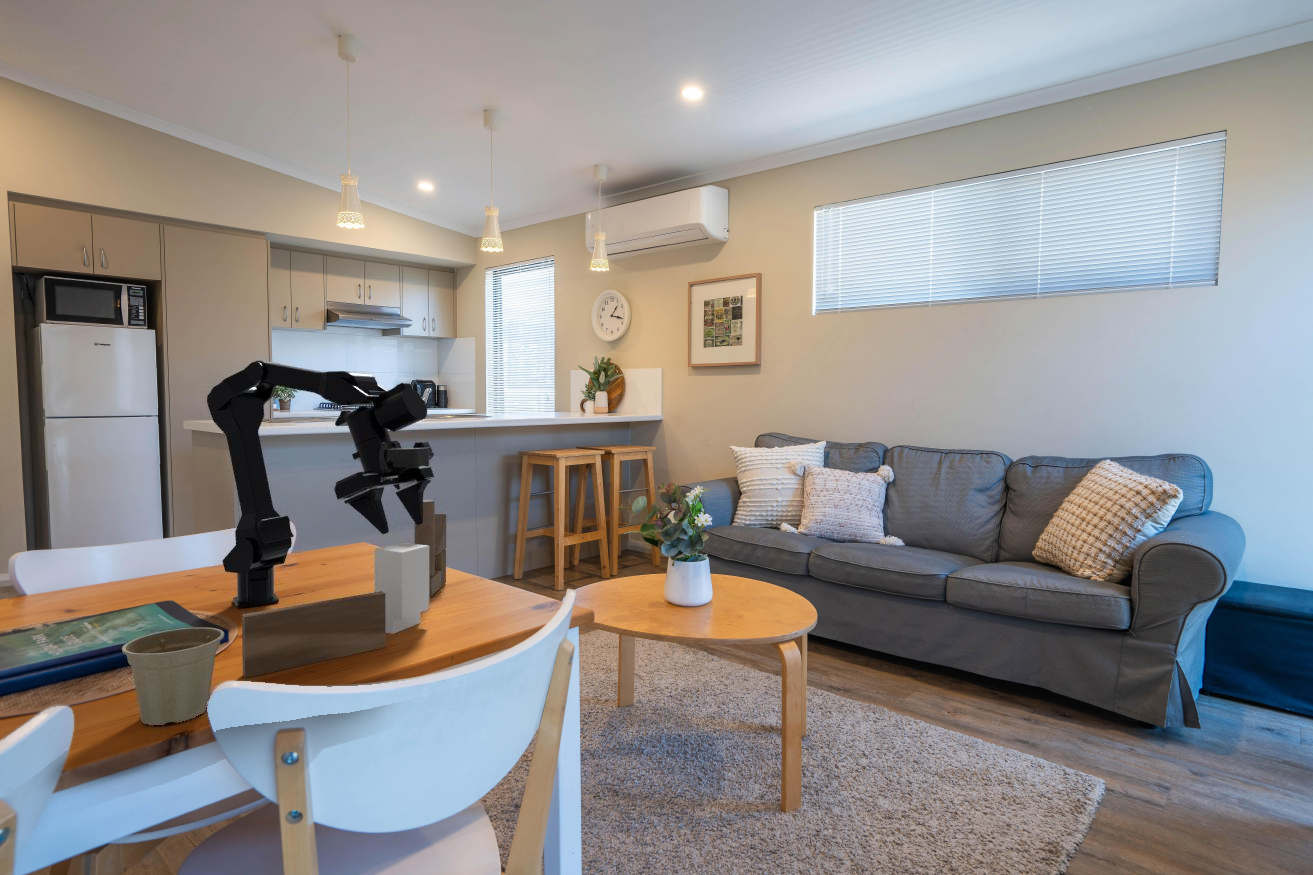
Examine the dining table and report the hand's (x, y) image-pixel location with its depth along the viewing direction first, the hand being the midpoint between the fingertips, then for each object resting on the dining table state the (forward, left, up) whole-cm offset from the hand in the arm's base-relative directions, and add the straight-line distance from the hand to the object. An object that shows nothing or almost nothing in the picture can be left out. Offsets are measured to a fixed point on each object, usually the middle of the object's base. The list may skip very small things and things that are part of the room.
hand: (403, 528), depth 113 cm
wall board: (+13, -16, -15) cm, 25 cm away
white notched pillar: (+5, -2, -15) cm, 16 cm away
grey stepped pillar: (-15, +10, -15) cm, 23 cm away
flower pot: (+21, -32, -15) cm, 42 cm away
